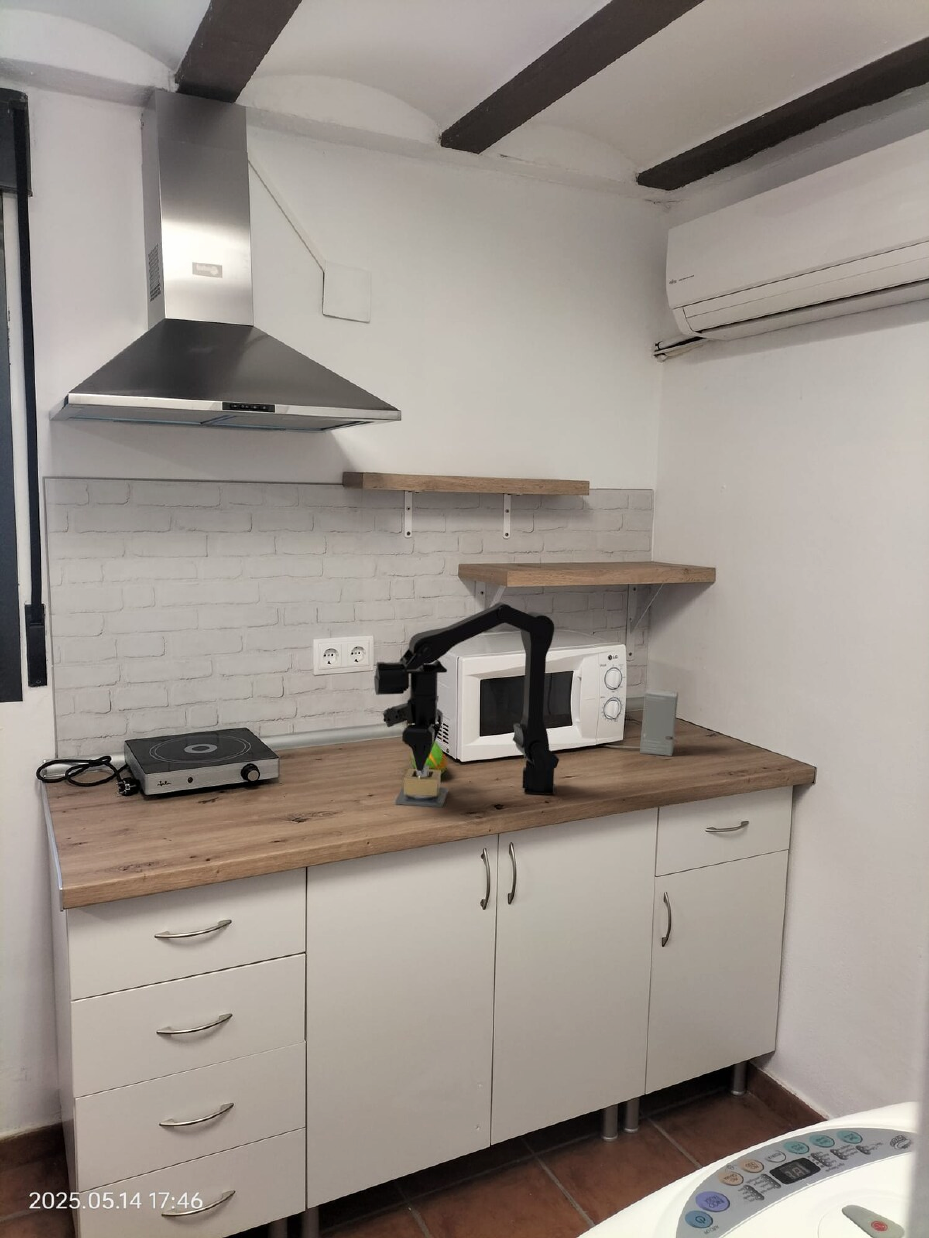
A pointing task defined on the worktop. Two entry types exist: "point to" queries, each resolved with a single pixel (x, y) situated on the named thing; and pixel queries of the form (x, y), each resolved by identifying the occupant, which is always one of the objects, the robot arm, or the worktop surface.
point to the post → (423, 799)
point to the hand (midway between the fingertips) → (422, 764)
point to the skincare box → (658, 722)
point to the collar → (422, 783)
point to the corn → (435, 759)
